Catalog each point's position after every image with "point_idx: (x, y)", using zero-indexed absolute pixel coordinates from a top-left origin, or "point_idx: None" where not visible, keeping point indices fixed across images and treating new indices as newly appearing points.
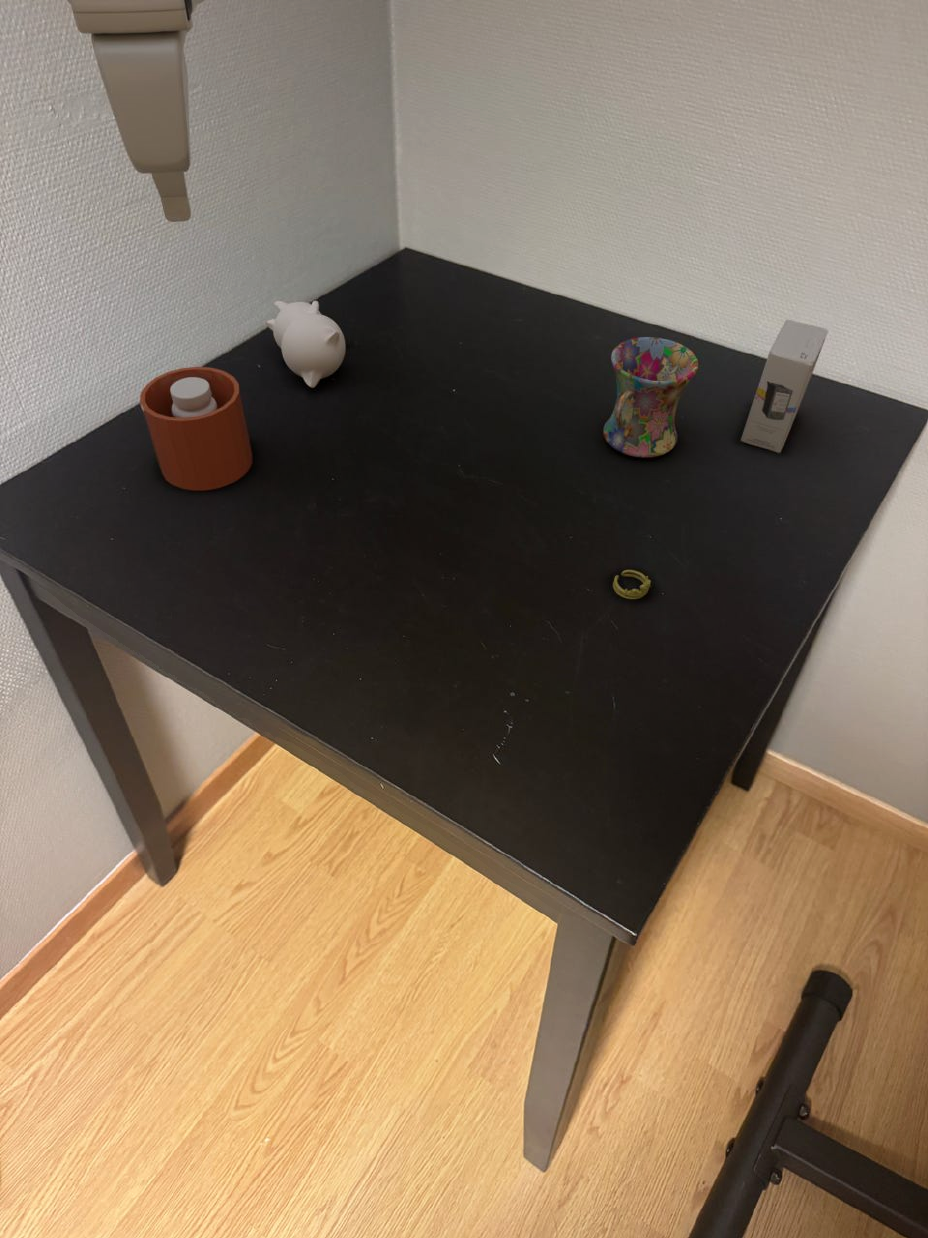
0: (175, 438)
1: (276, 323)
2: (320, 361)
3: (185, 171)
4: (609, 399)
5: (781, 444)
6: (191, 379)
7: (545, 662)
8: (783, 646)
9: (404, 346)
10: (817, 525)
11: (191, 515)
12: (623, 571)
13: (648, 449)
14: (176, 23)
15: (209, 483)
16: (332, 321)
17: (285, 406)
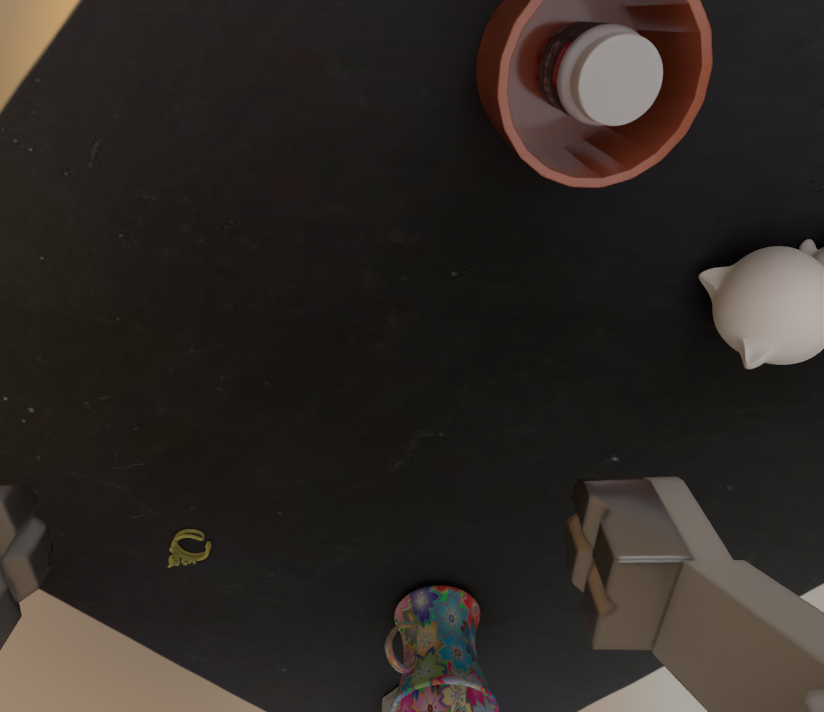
0: (502, 31)
1: None
2: (719, 312)
3: (566, 533)
4: (525, 603)
5: (382, 708)
6: (650, 86)
7: (80, 448)
8: (109, 622)
9: (762, 418)
10: (270, 688)
11: (413, 29)
12: (206, 546)
13: (397, 618)
14: None
15: (477, 72)
16: (794, 361)
17: (677, 221)
